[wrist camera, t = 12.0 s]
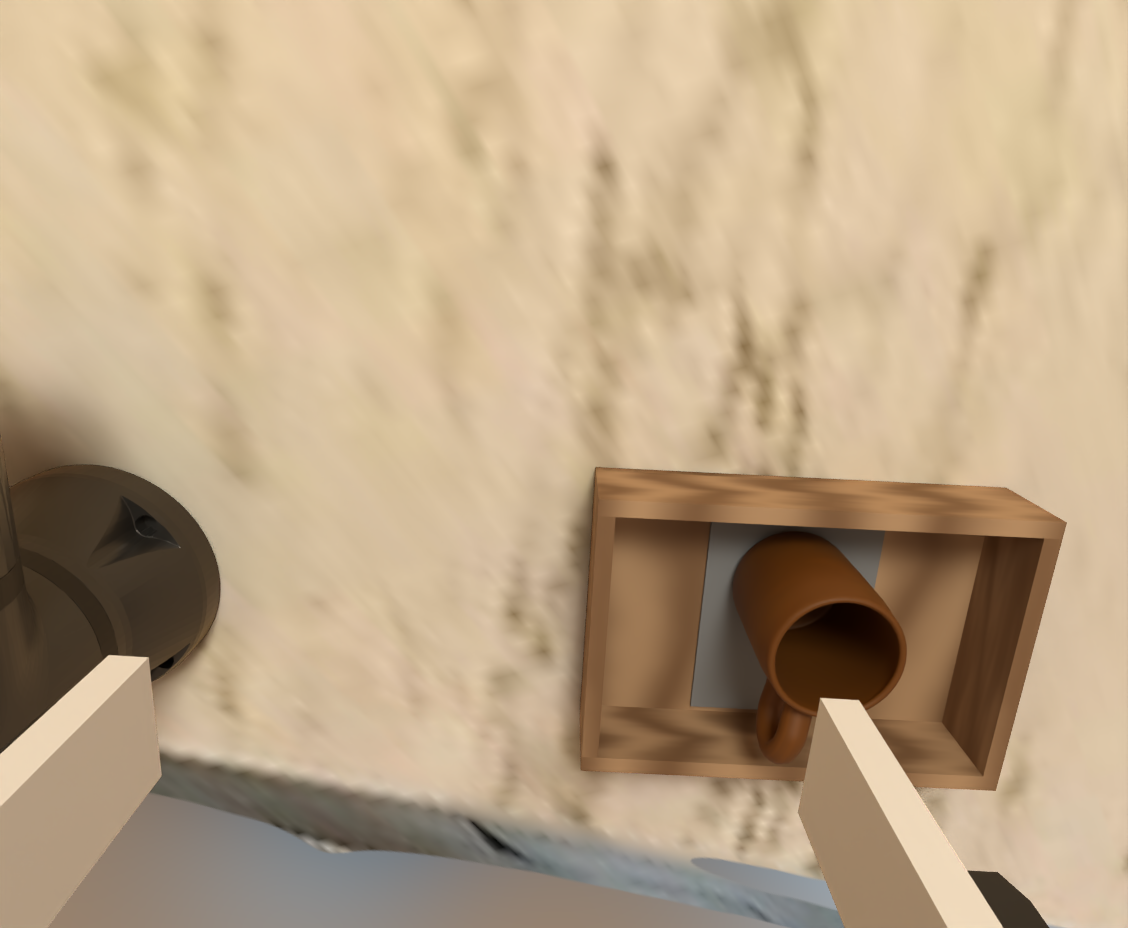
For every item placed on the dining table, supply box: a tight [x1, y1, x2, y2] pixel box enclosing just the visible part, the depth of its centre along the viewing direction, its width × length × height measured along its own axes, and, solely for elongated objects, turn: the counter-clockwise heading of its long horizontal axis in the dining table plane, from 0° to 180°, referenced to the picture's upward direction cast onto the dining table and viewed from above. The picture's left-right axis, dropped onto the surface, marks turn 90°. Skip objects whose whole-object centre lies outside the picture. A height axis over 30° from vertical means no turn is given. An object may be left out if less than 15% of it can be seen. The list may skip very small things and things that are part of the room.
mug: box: [733, 531, 907, 764], centre depth 44 cm, size 12×8×9 cm, turn 163°
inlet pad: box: [690, 522, 885, 710], centre depth 49 cm, size 11×15×1 cm
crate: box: [580, 467, 1067, 791], centre depth 46 cm, size 26×18×6 cm
